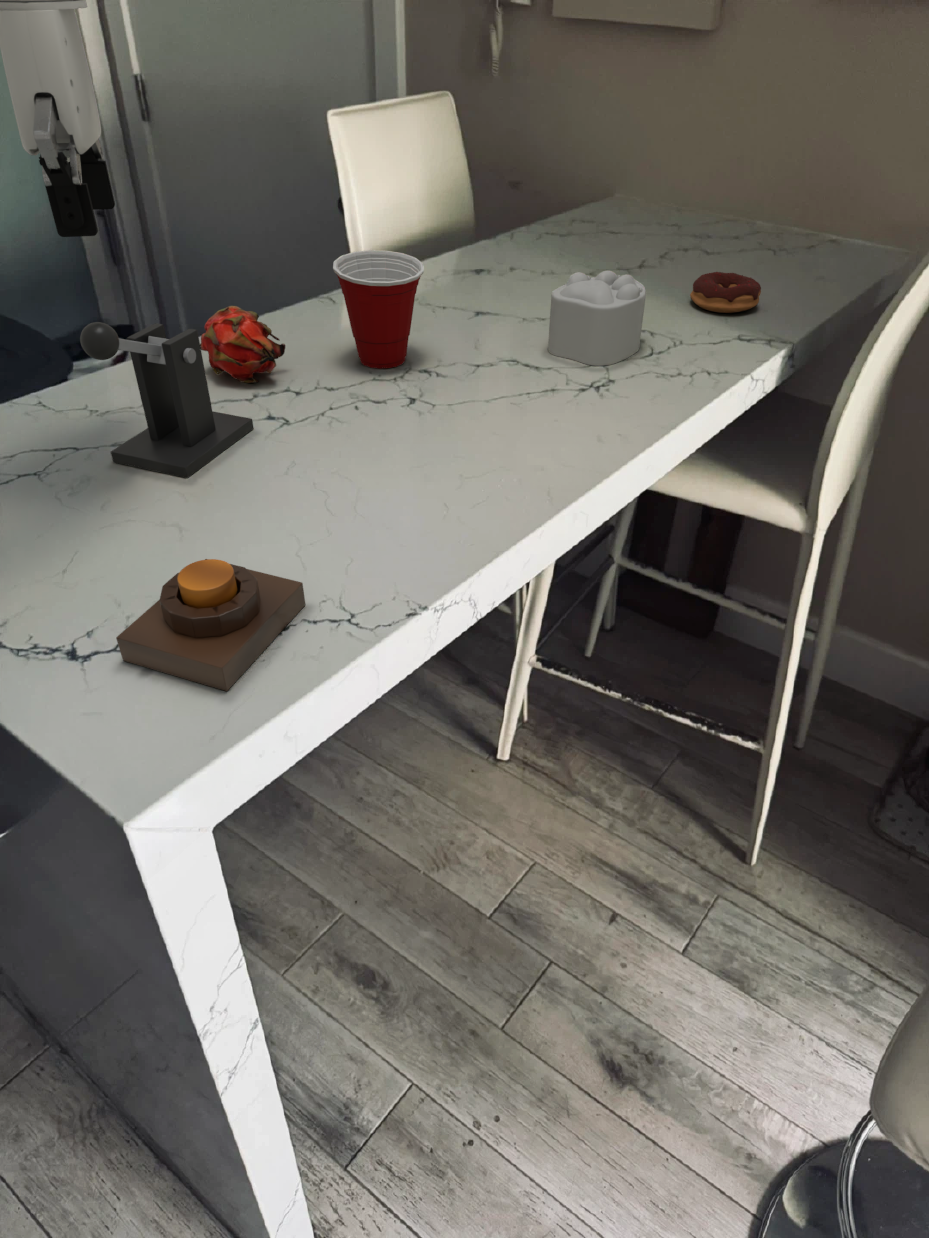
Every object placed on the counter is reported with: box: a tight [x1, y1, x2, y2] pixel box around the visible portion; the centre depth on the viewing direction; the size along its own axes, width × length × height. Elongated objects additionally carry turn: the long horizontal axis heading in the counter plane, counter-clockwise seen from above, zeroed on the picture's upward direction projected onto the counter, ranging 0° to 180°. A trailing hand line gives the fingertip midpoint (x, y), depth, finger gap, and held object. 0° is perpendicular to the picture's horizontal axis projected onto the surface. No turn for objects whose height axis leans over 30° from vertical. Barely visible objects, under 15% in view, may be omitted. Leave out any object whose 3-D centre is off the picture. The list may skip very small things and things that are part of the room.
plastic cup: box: [332, 249, 425, 370], centre depth 106 cm, size 11×11×12 cm
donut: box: [689, 271, 762, 314], centre depth 126 cm, size 10×10×4 cm
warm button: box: [177, 558, 237, 609], centre depth 64 cm, size 4×4×2 cm
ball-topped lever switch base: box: [110, 322, 255, 479], centre depth 88 cm, size 12×9×12 cm
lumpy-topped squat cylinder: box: [547, 269, 647, 367], centre depth 112 cm, size 10×13×9 cm
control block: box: [115, 558, 306, 692], centre depth 65 cm, size 11×9×4 cm
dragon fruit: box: [200, 305, 286, 384], centre depth 104 cm, size 8×8×12 cm
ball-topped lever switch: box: [79, 321, 170, 365], centre depth 81 cm, size 12×3×3 cm, turn 157°
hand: (88, 221), depth 78 cm, fingers open, 9 cm apart
